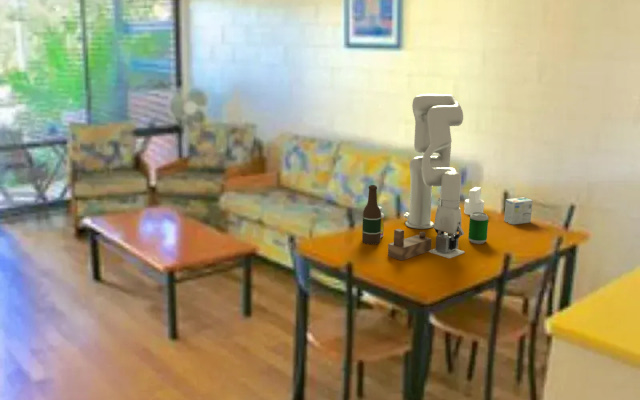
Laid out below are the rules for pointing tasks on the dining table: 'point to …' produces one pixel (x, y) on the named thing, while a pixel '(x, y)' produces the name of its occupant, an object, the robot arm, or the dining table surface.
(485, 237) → the soda can
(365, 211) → the beer bottle
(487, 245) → the dining table surface
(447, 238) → the grey stone box
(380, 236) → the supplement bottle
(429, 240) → the body
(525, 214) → the light bulb box
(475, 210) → the base with upright slab
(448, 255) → the felt pad
